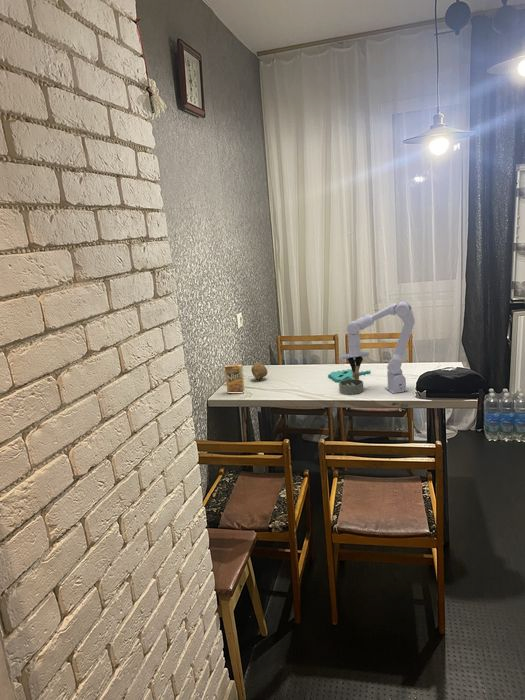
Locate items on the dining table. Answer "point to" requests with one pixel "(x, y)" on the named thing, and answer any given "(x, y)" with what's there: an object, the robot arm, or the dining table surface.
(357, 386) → the grey round bowl
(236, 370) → the candy box
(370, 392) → the dining table surface
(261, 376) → the natural sponge
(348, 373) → the alien figure
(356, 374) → the wood wick
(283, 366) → the dining table surface
